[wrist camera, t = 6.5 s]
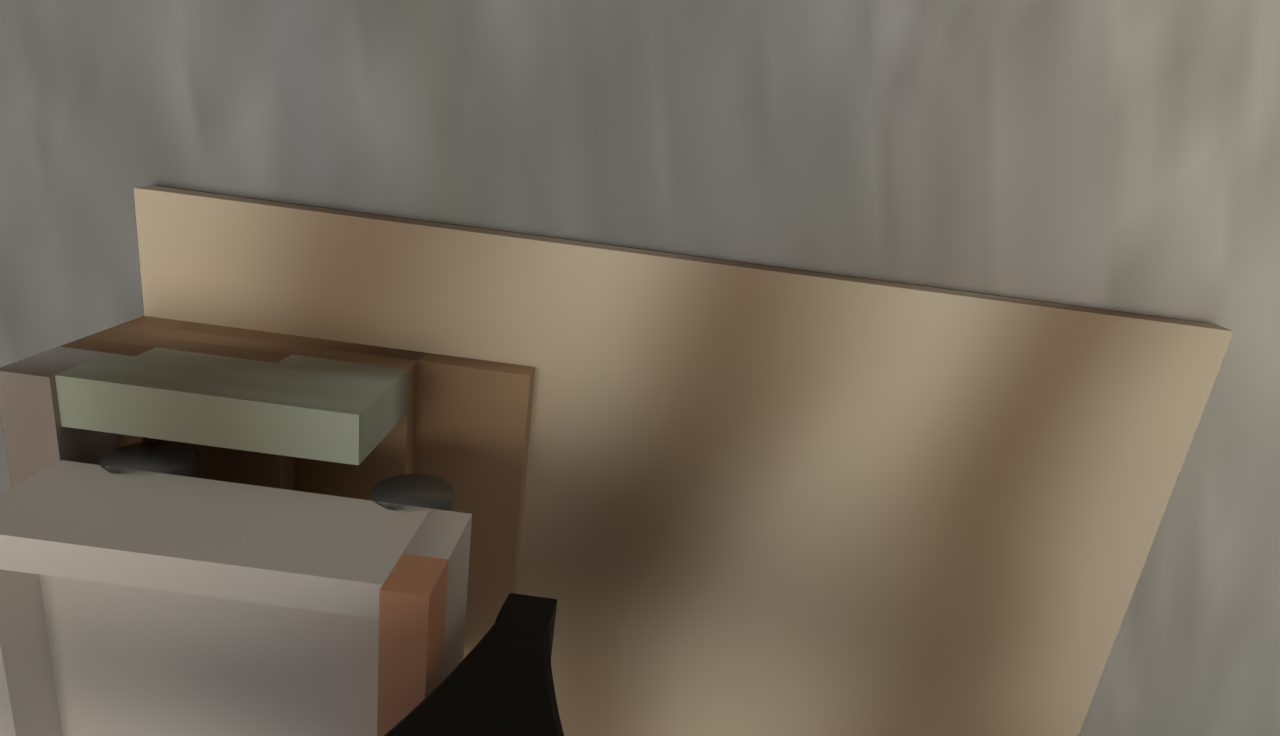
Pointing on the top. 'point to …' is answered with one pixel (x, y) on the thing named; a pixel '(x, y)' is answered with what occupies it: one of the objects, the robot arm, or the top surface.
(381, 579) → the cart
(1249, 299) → the top surface
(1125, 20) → the top surface
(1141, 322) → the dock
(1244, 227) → the top surface
